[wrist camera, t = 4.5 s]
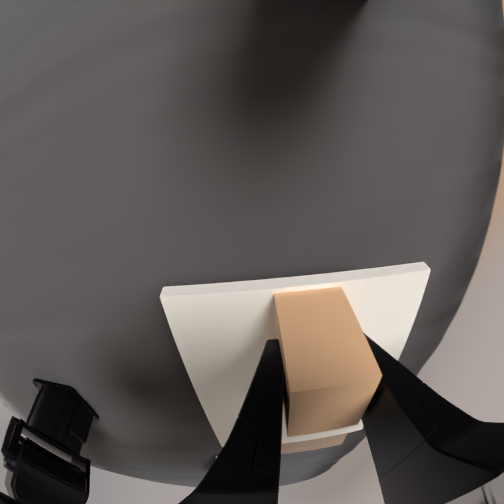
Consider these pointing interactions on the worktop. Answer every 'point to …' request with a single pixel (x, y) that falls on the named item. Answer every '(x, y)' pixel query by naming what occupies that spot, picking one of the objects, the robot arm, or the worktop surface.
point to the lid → (295, 342)
